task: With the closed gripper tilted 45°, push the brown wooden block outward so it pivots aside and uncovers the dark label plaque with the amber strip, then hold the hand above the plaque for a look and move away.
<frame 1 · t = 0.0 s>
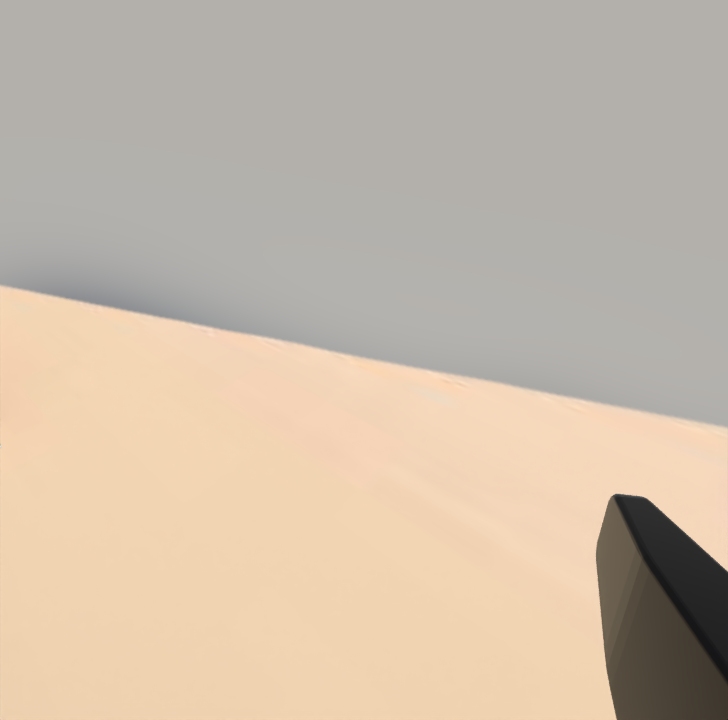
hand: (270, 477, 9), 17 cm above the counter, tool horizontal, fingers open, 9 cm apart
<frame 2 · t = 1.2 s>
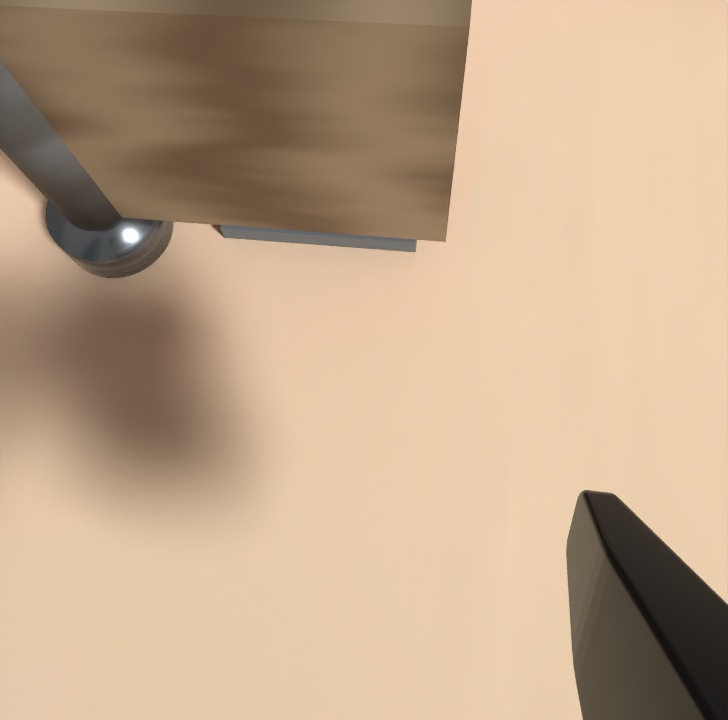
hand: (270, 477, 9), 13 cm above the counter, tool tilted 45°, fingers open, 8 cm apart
pivot foot: (120, 228, 25), on the counter
brown wooden block: (226, 52, 19), point 7 cm above the counter, hinge at 0.0°
label plaque: (329, 173, 26), on the counter
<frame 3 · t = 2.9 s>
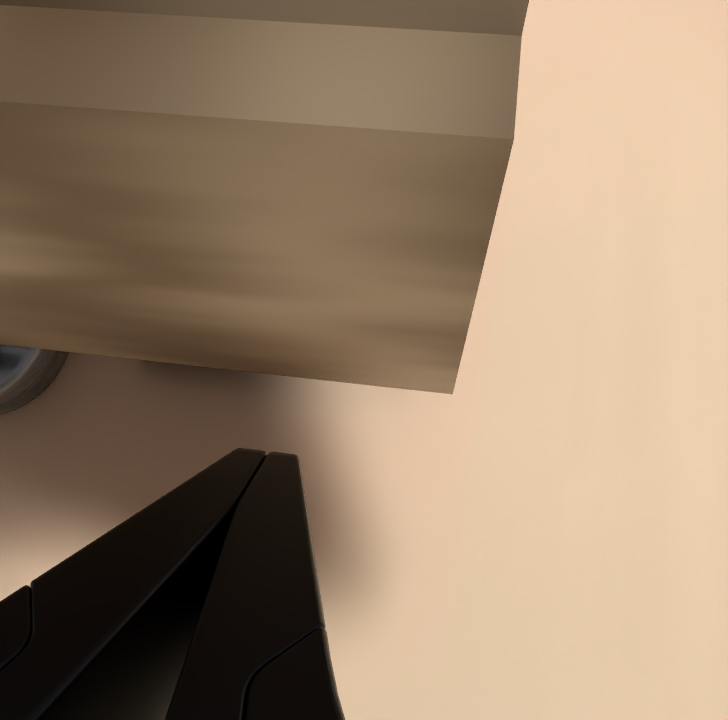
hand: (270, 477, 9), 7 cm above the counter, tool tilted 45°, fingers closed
brown wooden block: (102, 123, 12), point 7 cm above the counter, hinge at 0.0°
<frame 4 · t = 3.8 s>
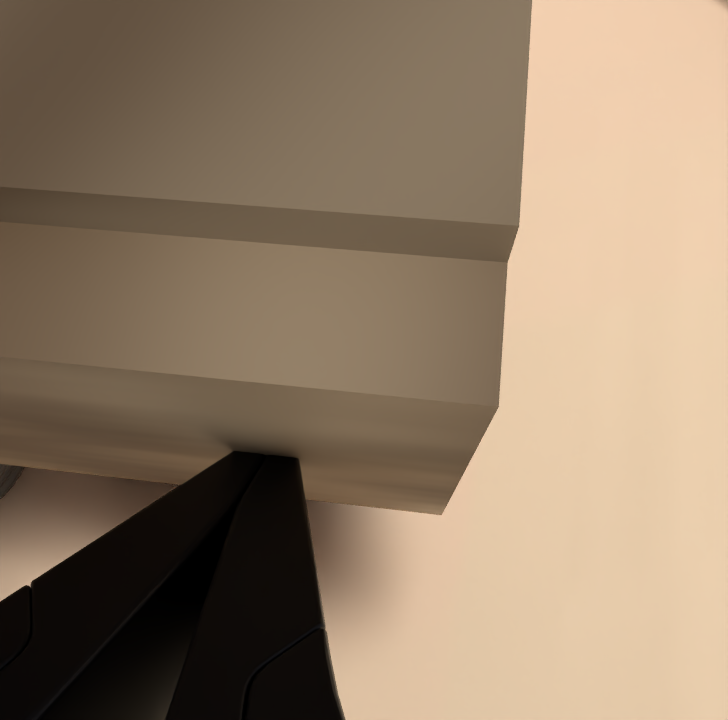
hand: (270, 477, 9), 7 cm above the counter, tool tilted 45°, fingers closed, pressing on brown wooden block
brown wooden block: (45, 254, 11), point 7 cm above the counter, hinge at 0.7°, touching gripper
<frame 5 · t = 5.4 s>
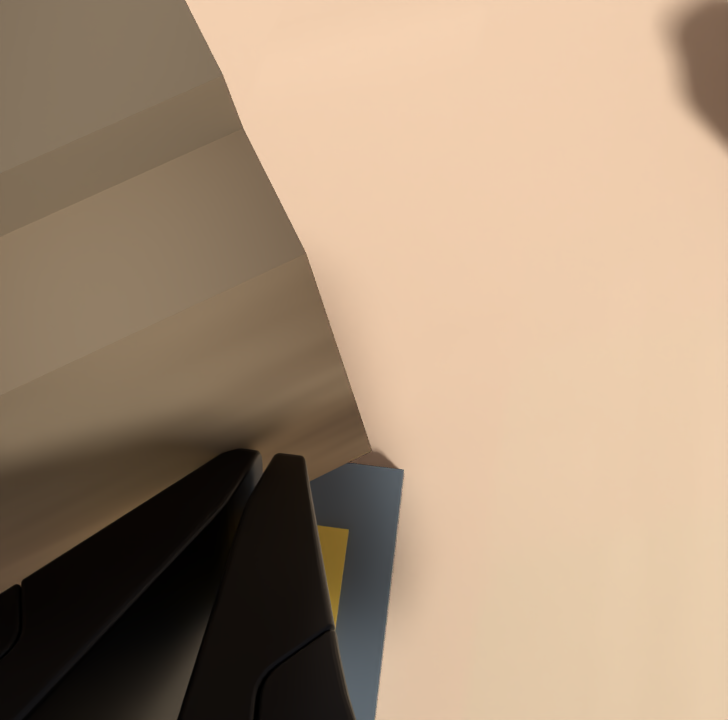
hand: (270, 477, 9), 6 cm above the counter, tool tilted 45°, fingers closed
label plaque: (228, 590, 15), on the counter
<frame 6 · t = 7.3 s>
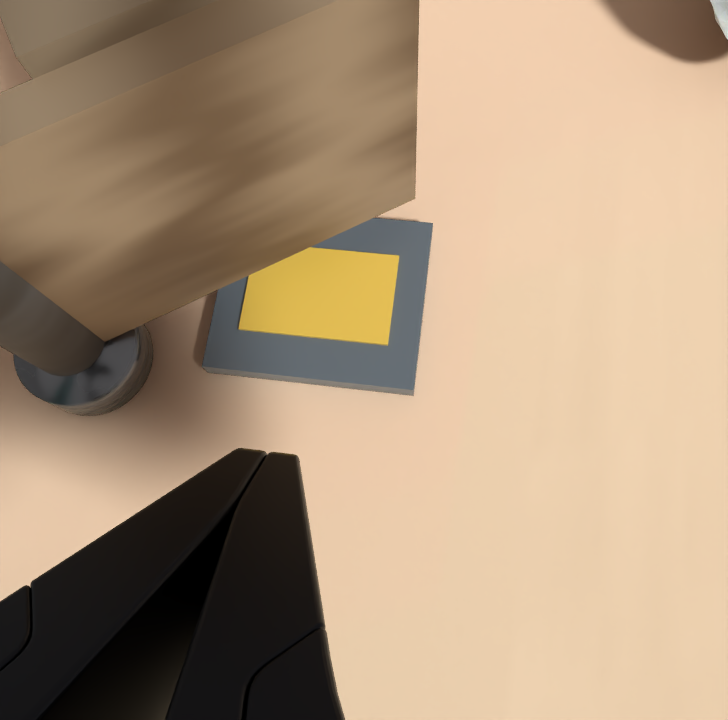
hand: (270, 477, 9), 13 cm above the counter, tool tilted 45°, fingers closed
pivot foot: (95, 359, 24), on the counter
brown wooden block: (147, 123, 18), point 7 cm above the counter, hinge at 33.3°
label plaque: (322, 301, 24), on the counter
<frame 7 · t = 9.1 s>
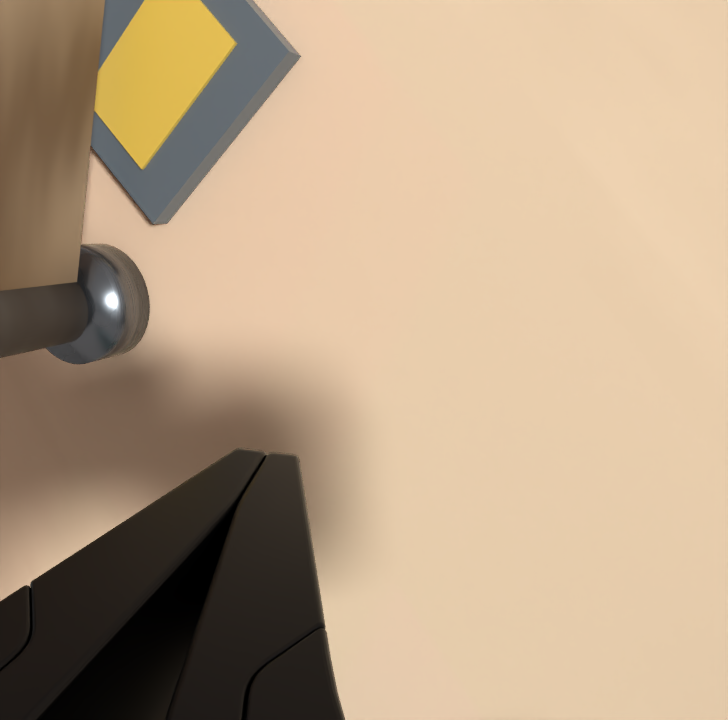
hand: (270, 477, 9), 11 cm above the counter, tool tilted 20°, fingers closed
pivot foot: (104, 300, 24), on the counter
label plaque: (171, 75, 22), on the counter
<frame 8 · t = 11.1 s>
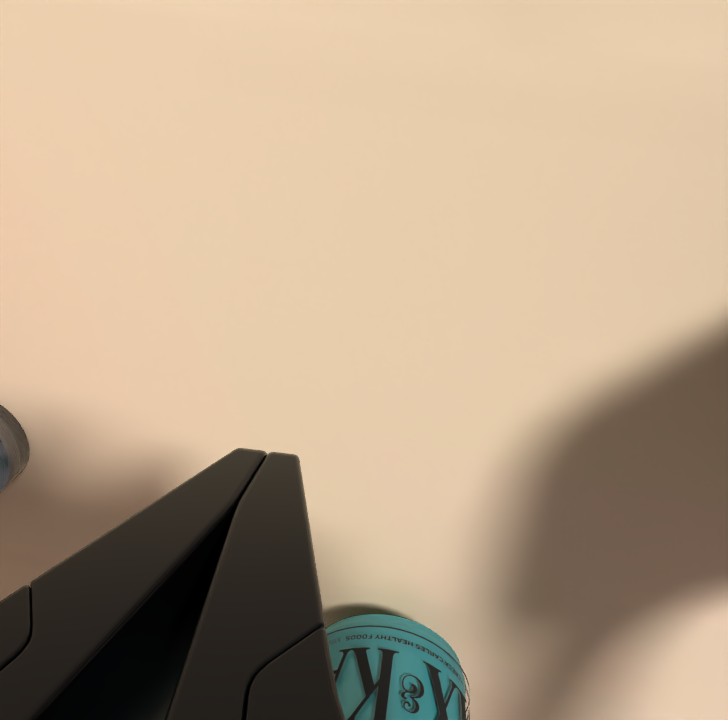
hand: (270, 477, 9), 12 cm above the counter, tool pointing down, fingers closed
beverage bottle: (387, 632, 28), on the counter
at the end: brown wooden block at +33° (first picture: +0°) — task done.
